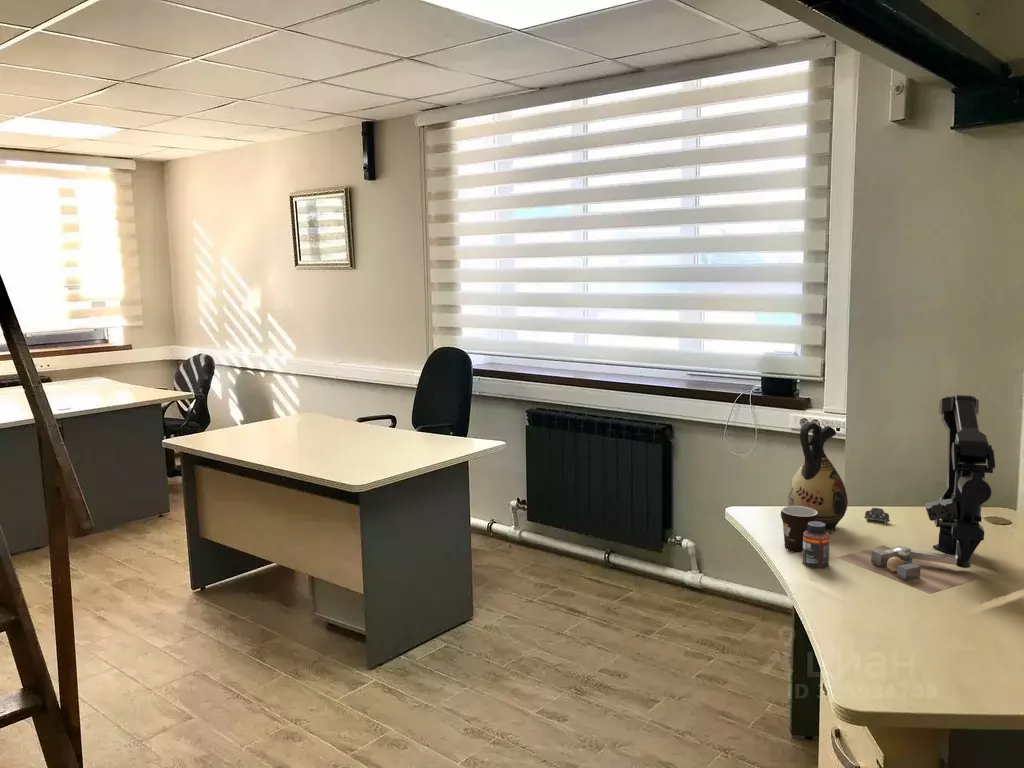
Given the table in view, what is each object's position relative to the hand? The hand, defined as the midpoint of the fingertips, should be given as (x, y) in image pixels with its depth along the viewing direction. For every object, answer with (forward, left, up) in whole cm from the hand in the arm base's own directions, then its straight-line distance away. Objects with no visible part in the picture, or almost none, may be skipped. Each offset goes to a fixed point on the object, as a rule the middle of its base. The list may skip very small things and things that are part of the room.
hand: (963, 556), depth 189 cm
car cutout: (-18, -32, -5) cm, 37 cm away
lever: (+7, -6, -3) cm, 10 cm away
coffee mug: (+19, -32, -5) cm, 38 cm away
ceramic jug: (+4, -40, -5) cm, 41 cm away
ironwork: (+11, -7, -3) cm, 14 cm away
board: (+10, -7, -4) cm, 13 cm away
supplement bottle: (+27, -19, -5) cm, 33 cm away
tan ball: (+14, -7, -3) cm, 16 cm away
